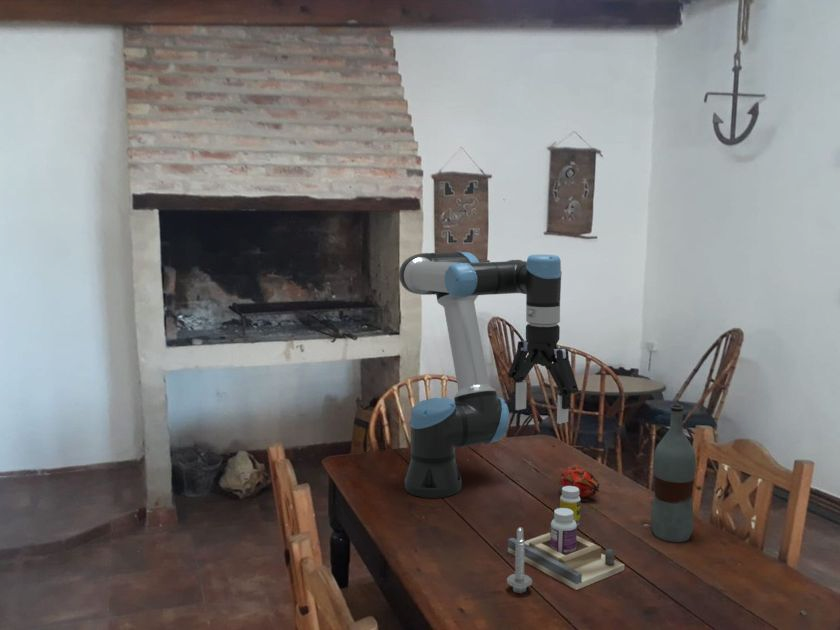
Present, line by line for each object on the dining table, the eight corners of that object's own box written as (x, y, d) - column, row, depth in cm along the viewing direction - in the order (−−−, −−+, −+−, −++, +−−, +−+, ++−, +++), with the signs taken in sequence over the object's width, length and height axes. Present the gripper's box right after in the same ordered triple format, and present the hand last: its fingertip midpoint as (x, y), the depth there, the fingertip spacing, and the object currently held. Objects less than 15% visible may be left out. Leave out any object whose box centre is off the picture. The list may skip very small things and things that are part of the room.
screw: (509, 596, 145) (504, 584, 150) (534, 595, 146) (528, 583, 150) (510, 532, 143) (505, 522, 148) (535, 531, 144) (529, 521, 148)
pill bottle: (577, 551, 161) (578, 508, 160) (574, 562, 156) (575, 518, 155) (552, 547, 163) (553, 505, 162) (548, 558, 158) (549, 514, 157)
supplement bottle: (580, 527, 176) (580, 493, 175) (559, 526, 177) (560, 491, 176) (579, 519, 181) (580, 485, 179) (559, 518, 182) (560, 484, 180)
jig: (507, 552, 164) (508, 534, 163) (554, 535, 172) (554, 519, 171) (576, 590, 148) (576, 570, 147) (624, 570, 156) (624, 551, 155)
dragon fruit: (562, 493, 201) (595, 514, 192) (545, 481, 196) (579, 503, 186) (578, 466, 202) (613, 485, 193) (562, 453, 197) (597, 473, 187)
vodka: (701, 541, 168) (707, 410, 164) (662, 545, 167) (668, 412, 162) (679, 524, 177) (685, 399, 173) (643, 527, 176) (648, 401, 172)
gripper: (493, 318, 178) (493, 406, 181) (571, 333, 158) (569, 431, 161) (517, 315, 182) (516, 401, 185) (596, 329, 162) (593, 425, 165)
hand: (541, 415), depth 173 cm, fingers open, 13 cm apart
